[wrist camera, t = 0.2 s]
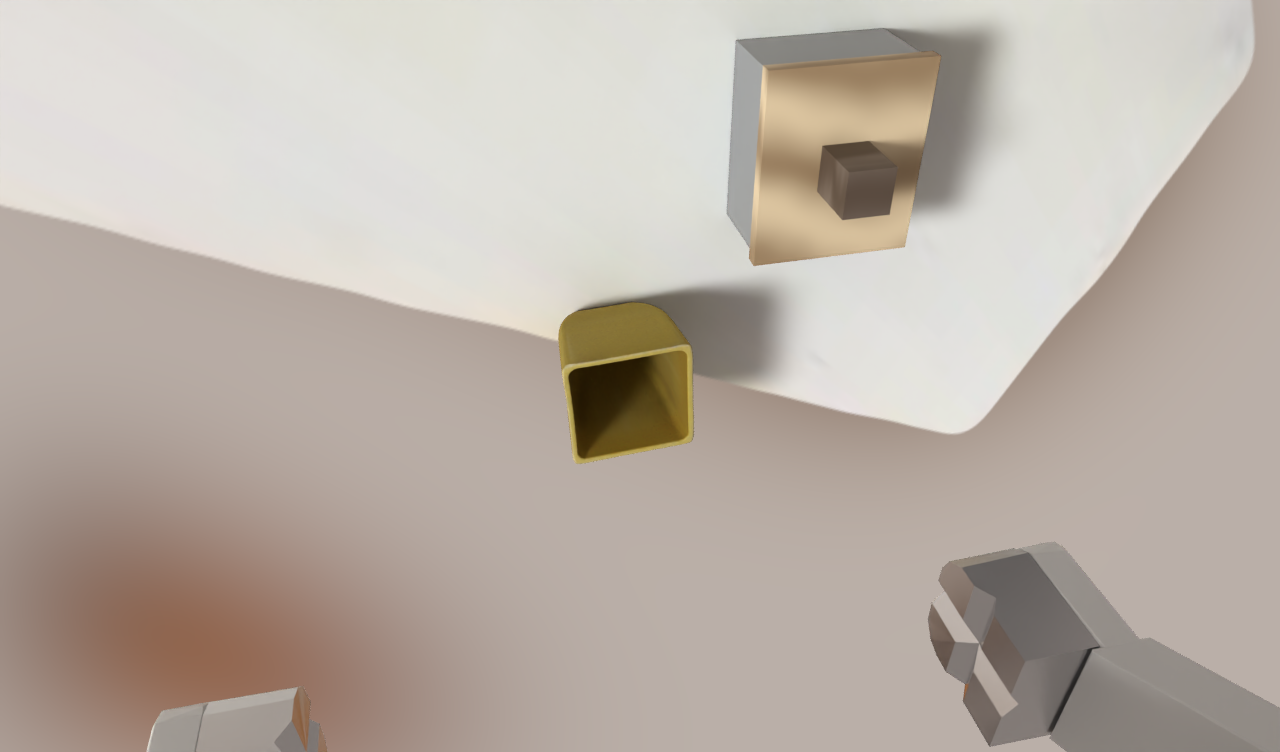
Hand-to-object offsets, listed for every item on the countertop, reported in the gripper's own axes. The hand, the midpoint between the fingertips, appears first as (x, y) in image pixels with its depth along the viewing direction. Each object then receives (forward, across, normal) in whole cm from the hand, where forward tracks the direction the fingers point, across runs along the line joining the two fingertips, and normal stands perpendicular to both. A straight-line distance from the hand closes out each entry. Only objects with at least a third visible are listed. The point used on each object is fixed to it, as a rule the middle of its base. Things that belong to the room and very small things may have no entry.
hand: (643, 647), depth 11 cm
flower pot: (+48, -8, +28) cm, 56 cm away
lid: (+43, -22, +13) cm, 50 cm away
